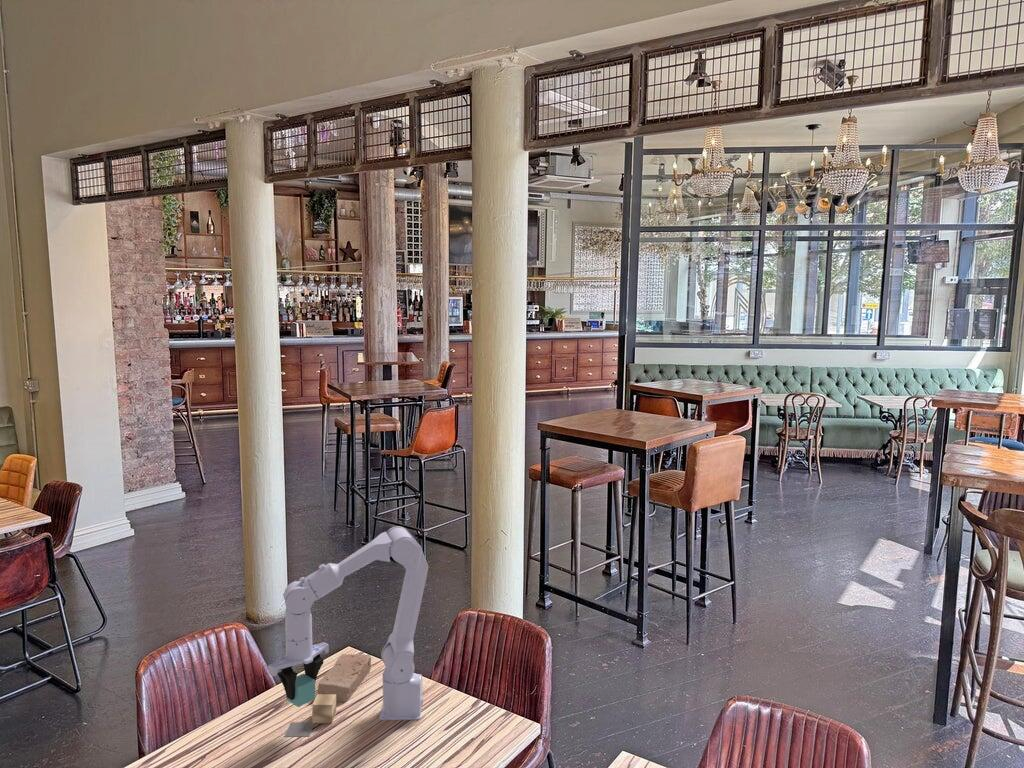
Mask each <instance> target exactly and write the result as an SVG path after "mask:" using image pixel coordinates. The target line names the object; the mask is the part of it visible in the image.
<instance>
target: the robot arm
mask: <svg viewBox="0 0 1024 768" xmlns="http://www.w3.org/2000/svg"><path fill="white" fill-rule="evenodd" d="M390 557H391V558H392V559H393V560H394V561H395V562H396V563H398V564H400V565H401V566H403V568H404V569H405V573H404V578H403V583H402V588H401V591H400V592H401V593H400V597H399V601H398V606H397V611H396V616H395V620H394V624H393V630H392V632H391V633H390V635H388V638H387V642H386V643H385V645H384V647H383V648H382V649H381V654H380V656H381V657H380V658H381V661H382V662H383V664H384V666H385V667H384V671H383V672H382V707H381V711H380V713H379V721H414V720H420V719H421V714H422V707H423V706H424V697H423V675H422V674H421V673H415V670H416V669H415V666H416V665H415V663H414V655H415V645H414V638H415V637H414V636H415V633H416V627H417V624H418V618H419V614H420V609H421V606H422V601H423V595H424V590H425V587H426V582H427V576H428V572H429V564H428V561H427V560H426V556H425V554H424V551H423V548H422V546H421V545H420V544H419V543H418V541H417V540H416V539H415V537H414V536H413V535H412V534H411V532H410V531H408V529H406V528H405V527H403V526H400V525H399V526H398V525H397V526H393V527H391V528H389V529H388V530H387V531H384V532H381V533H380V534H378V535H377V536H376V537H375V538H373V539H372V540H371V541H369V542H368V543H367V544H365V545H363V546H362V547H361V548H359V549H357V550H356V551H355V552H353V553H352V554H350V555H348V556H347V557H346V558H343V560H342V561H340V562H339V563H331V562H328V563H327V564H325V563H322V564H320V565H319V566H318V569H317V570H316V571H314V572H312V573H310V574H308V575H307V576H305V577H304V576H301V577H300V578H299V580H298V581H297V580H296V581H292V582H290V583H288V585H287V586H286V588H285V589H284V593H283V594H282V595H283V596H282V597H283V599H284V605H285V611H284V612H285V618H284V622H285V627H284V629H285V654H284V655H282V656H281V657H280V658H278V659H277V660H276V661H274V662H273V663H271V664H268V665H267V666H268V669H267V671H268V675H270V676H271V677H276V676H278V678H279V679H280V681H281V683H282V685H283V688H284V691H285V695H286V699H287V698H289V699H290V700H293V699H294V698H295V682H296V677H297V676H298V672H295V670H294V669H293V668H292V667H295V666H299V665H303V668H304V674H305V675H307V676H309V677H311V678H313V679H314V680H315V683H316V682H317V677H318V674H319V672H320V670H321V668H322V666H323V664H324V658H323V657H322V656H321V655H322V654H328V653H329V651H330V647H329V646H330V645H329V644H328V643H327V642H324V641H323V642H321V643H317V644H313V615H312V612H311V608H312V607H313V605H314V603H315V601H318V600H319V599H320V600H321V598H323V597H324V596H326V595H327V594H329V593H331V592H333V591H334V590H336V589H337V588H339V587H341V586H342V585H343V582H344V579H345V577H347V576H349V575H350V574H352V573H354V572H356V571H358V570H360V569H362V568H364V567H365V566H367V565H369V564H371V563H372V562H375V561H382V562H387V563H390V562H391V558H390Z"/></svg>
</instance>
